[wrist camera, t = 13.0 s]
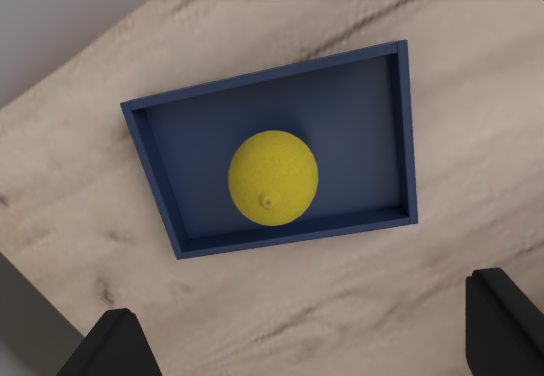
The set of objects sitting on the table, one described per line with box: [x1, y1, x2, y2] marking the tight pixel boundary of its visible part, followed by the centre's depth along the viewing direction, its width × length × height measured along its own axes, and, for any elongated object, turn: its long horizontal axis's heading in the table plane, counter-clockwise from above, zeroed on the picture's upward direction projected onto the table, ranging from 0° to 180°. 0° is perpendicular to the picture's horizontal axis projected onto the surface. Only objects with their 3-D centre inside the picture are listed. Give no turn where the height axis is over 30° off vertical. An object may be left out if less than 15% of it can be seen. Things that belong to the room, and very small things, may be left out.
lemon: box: [228, 131, 318, 226], centre depth 21 cm, size 6×6×8 cm
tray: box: [120, 40, 418, 260], centre depth 24 cm, size 18×12×3 cm
